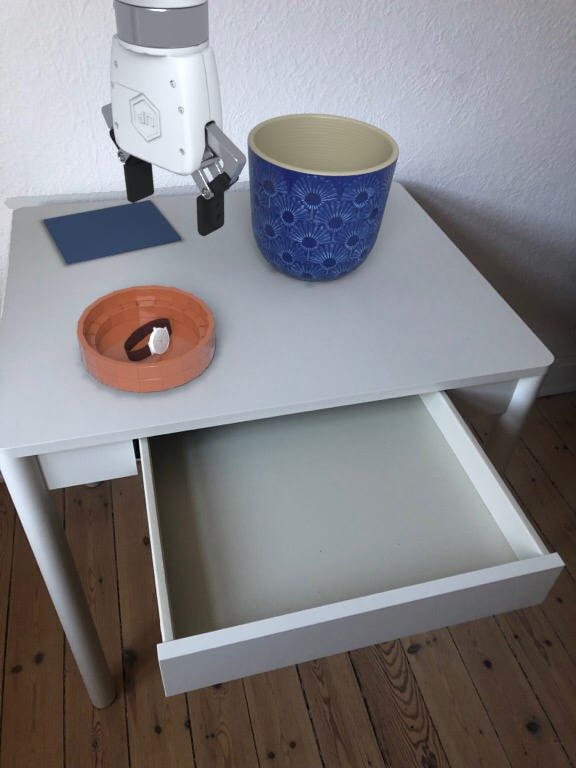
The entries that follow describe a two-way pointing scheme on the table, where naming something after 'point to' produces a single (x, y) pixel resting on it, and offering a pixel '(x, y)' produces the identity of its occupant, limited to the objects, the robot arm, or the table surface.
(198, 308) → the bowl
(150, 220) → the mat
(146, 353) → the watch
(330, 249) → the planter
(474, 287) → the table surface
